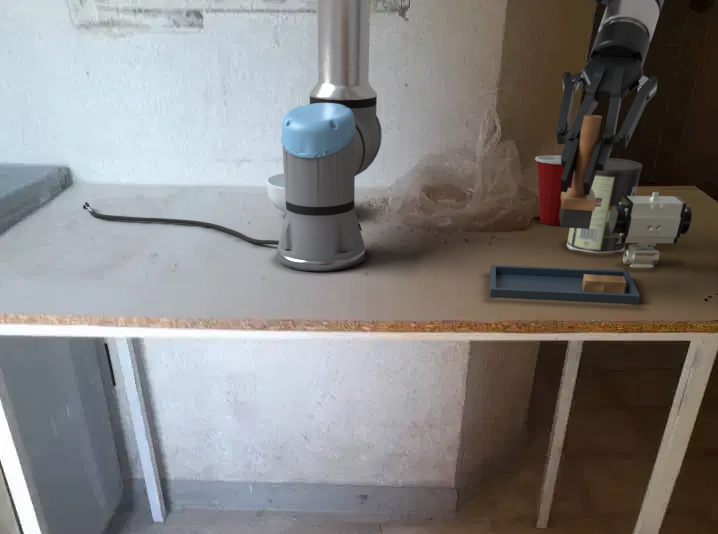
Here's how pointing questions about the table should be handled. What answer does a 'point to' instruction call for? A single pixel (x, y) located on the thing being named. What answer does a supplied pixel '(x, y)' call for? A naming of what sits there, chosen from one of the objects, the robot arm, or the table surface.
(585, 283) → the brown wooden block
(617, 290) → the small wooden block
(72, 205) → the table surface
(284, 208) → the cereal bowl
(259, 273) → the table surface
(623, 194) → the coffee can
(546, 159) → the plastic cup
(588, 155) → the brush
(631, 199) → the pneumatic valve
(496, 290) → the tray
